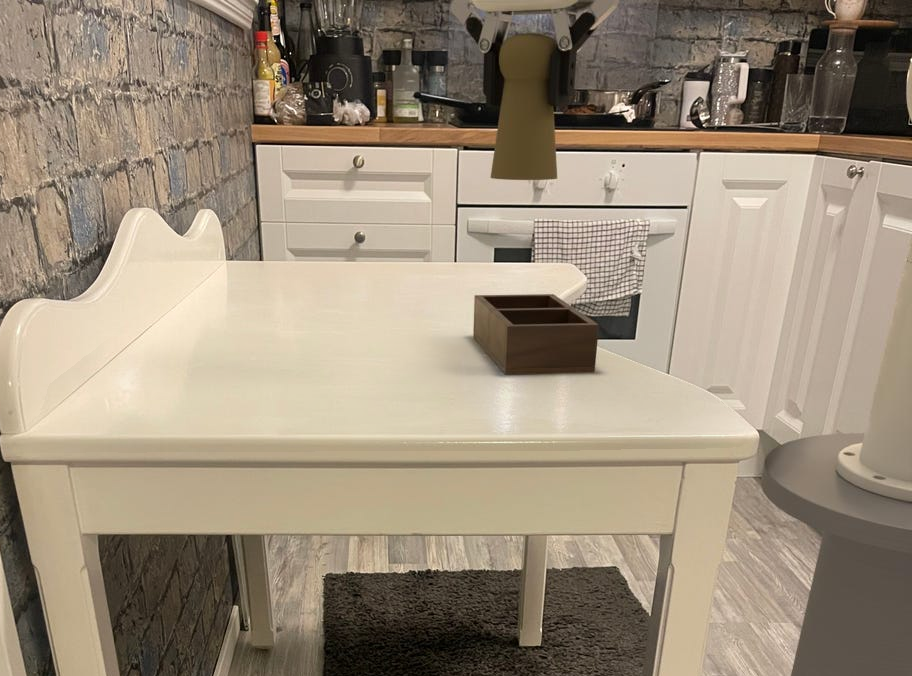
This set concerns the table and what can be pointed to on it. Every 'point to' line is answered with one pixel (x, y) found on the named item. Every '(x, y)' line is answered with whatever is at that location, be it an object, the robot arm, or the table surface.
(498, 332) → the divided wooden box
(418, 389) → the table surface
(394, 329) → the table surface
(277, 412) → the table surface
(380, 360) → the table surface
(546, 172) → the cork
